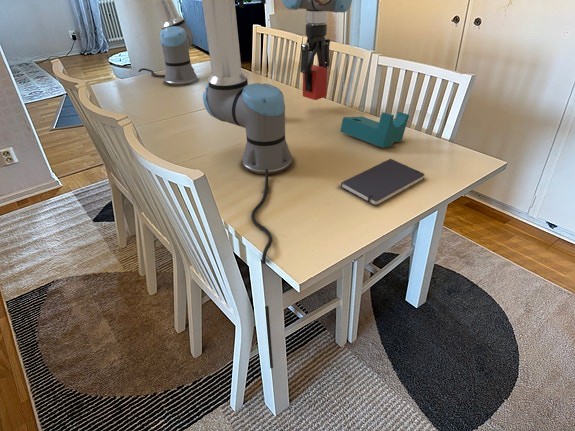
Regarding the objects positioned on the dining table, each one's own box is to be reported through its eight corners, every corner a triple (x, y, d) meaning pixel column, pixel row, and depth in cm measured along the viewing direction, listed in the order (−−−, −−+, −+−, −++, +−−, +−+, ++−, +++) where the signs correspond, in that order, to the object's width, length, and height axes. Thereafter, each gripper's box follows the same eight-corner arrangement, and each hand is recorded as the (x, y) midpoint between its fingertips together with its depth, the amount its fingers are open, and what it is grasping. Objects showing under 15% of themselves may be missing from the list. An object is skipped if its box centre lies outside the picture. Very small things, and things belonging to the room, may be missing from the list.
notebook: (389, 163, 124) (340, 187, 113) (390, 158, 123) (341, 182, 112) (424, 178, 116) (375, 206, 105) (425, 174, 115) (376, 201, 104)
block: (326, 96, 157) (327, 68, 151) (315, 100, 153) (316, 71, 147) (313, 92, 161) (313, 64, 155) (302, 96, 157) (302, 68, 151)
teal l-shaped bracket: (400, 145, 137) (409, 114, 132) (382, 147, 129) (391, 115, 125) (358, 130, 148) (365, 101, 143) (340, 131, 140) (346, 101, 136)
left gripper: (264, -50, 187) (266, 1, 199) (221, -47, 173) (226, 8, 185) (275, -50, 183) (277, 2, 195) (232, -47, 168) (237, 10, 181)
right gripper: (325, 18, 150) (323, 81, 163) (289, 25, 139) (290, 92, 152) (341, 20, 145) (338, 85, 159) (305, 28, 134) (304, 97, 148)
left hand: (252, 5), depth 190 cm, fingers open, 13 cm apart
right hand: (314, 88), depth 155 cm, fingers closed on block, 6 cm apart
